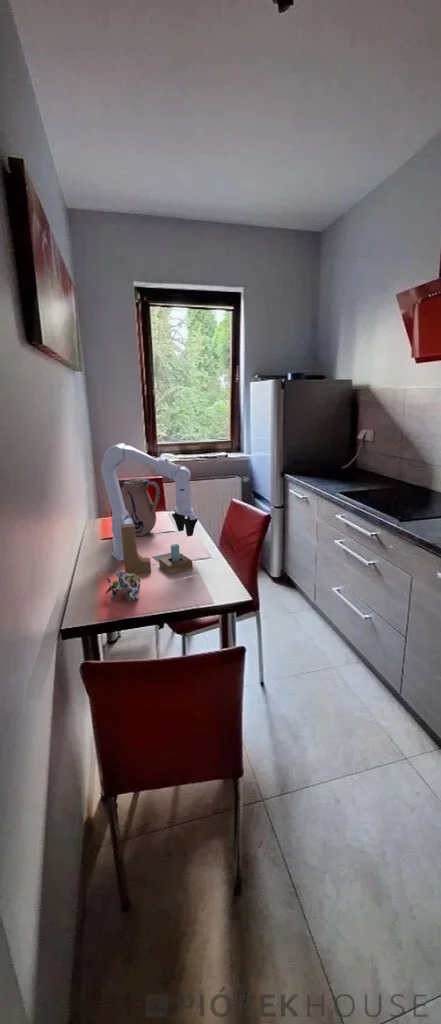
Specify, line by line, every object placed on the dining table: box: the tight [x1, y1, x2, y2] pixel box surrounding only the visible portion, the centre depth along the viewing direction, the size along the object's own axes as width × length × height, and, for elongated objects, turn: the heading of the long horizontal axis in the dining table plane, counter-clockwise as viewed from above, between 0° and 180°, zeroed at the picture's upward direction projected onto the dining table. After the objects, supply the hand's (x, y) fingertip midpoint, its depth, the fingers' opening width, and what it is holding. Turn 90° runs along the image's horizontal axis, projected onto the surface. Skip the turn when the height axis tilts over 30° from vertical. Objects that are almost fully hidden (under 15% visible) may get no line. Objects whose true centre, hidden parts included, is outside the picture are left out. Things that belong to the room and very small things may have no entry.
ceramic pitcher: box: [119, 477, 161, 537], centre depth 192 cm, size 18×21×25 cm
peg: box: [170, 543, 181, 563], centre depth 154 cm, size 3×3×9 cm
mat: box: [152, 552, 171, 563], centre depth 165 cm, size 8×8×1 cm
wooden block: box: [121, 524, 152, 575], centre depth 150 cm, size 9×4×18 cm, turn 101°
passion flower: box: [105, 569, 141, 602], centre depth 133 cm, size 11×11×12 cm
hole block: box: [158, 553, 194, 575], centre depth 155 cm, size 9×9×4 cm
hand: (185, 533), depth 165 cm, fingers open, 7 cm apart
